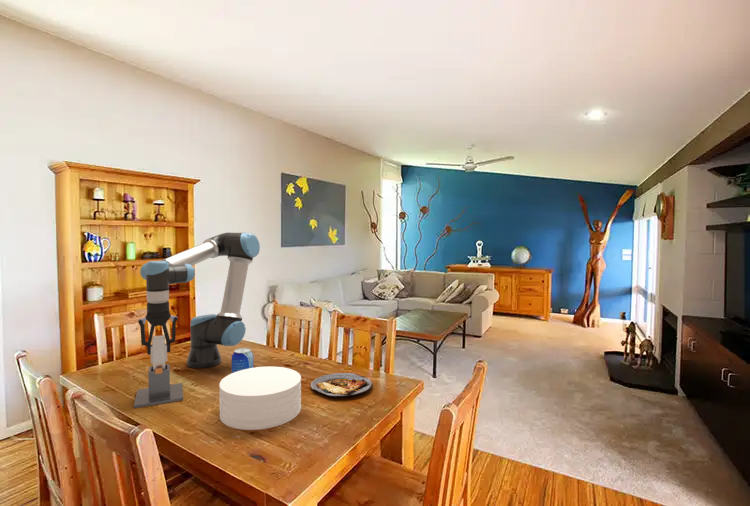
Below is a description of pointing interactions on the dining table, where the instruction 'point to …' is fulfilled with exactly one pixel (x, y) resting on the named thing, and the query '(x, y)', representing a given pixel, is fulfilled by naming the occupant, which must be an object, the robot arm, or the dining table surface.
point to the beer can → (242, 359)
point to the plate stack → (260, 397)
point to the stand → (159, 389)
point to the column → (159, 352)
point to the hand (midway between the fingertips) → (159, 361)
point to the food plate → (341, 384)
